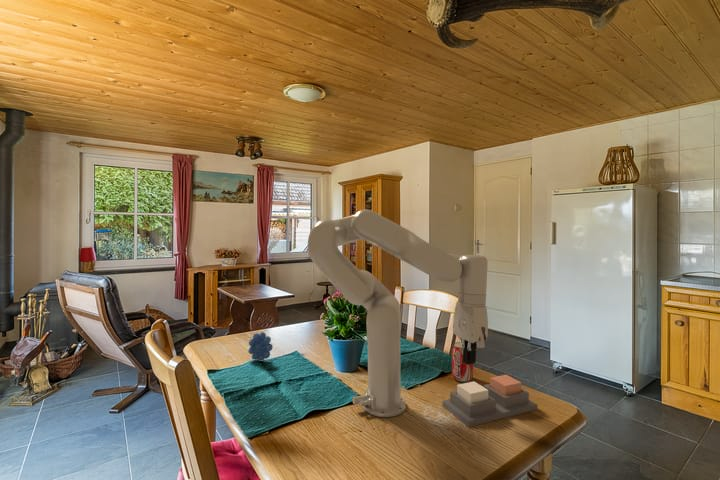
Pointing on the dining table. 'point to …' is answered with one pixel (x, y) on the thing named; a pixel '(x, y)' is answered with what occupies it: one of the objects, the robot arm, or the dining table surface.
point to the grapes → (260, 346)
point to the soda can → (460, 365)
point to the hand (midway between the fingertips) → (469, 362)
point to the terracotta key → (505, 385)
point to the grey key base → (489, 406)
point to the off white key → (472, 392)
